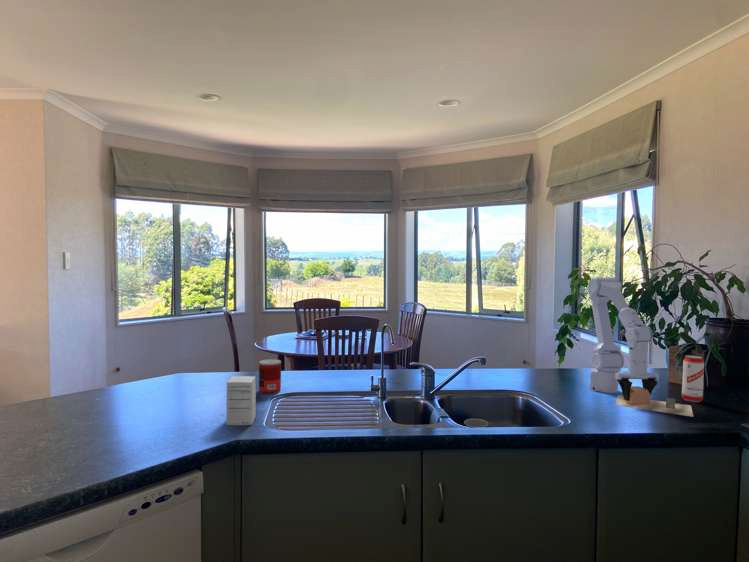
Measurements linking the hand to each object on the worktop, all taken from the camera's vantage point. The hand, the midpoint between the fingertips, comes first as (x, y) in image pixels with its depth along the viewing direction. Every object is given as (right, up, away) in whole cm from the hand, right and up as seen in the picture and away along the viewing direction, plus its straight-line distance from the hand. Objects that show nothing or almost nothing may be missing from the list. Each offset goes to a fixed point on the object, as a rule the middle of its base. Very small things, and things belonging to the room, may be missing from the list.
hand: (636, 400), depth 161 cm
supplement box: (-130, -1, -23) cm, 131 cm away
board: (+4, -2, -3) cm, 5 cm away
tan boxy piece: (0, -1, 0) cm, 1 cm away
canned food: (-128, 0, +10) cm, 129 cm away
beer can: (+25, -3, +8) cm, 26 cm away
